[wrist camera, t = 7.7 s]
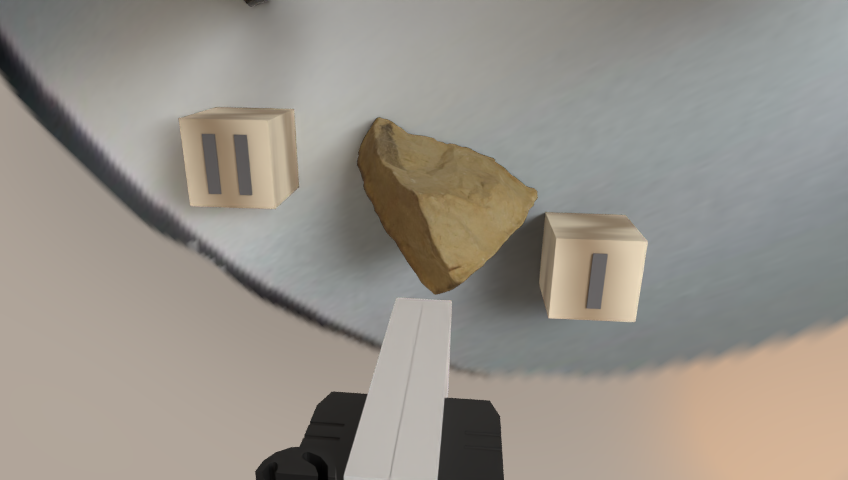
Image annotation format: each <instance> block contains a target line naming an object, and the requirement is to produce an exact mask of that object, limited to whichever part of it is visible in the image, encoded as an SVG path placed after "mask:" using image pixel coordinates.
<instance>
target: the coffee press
mask: <svg viewBox="0 0 848 480" xmlns="http://www.w3.org/2000/svg"><path fill="white" fill-rule="evenodd" d="M244 1H245V2H246V3H247V4H248V5H249V6H250V7H253V6H255V5H258V4H260V3H262V2H265V1H267V0H244Z"/></svg>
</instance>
